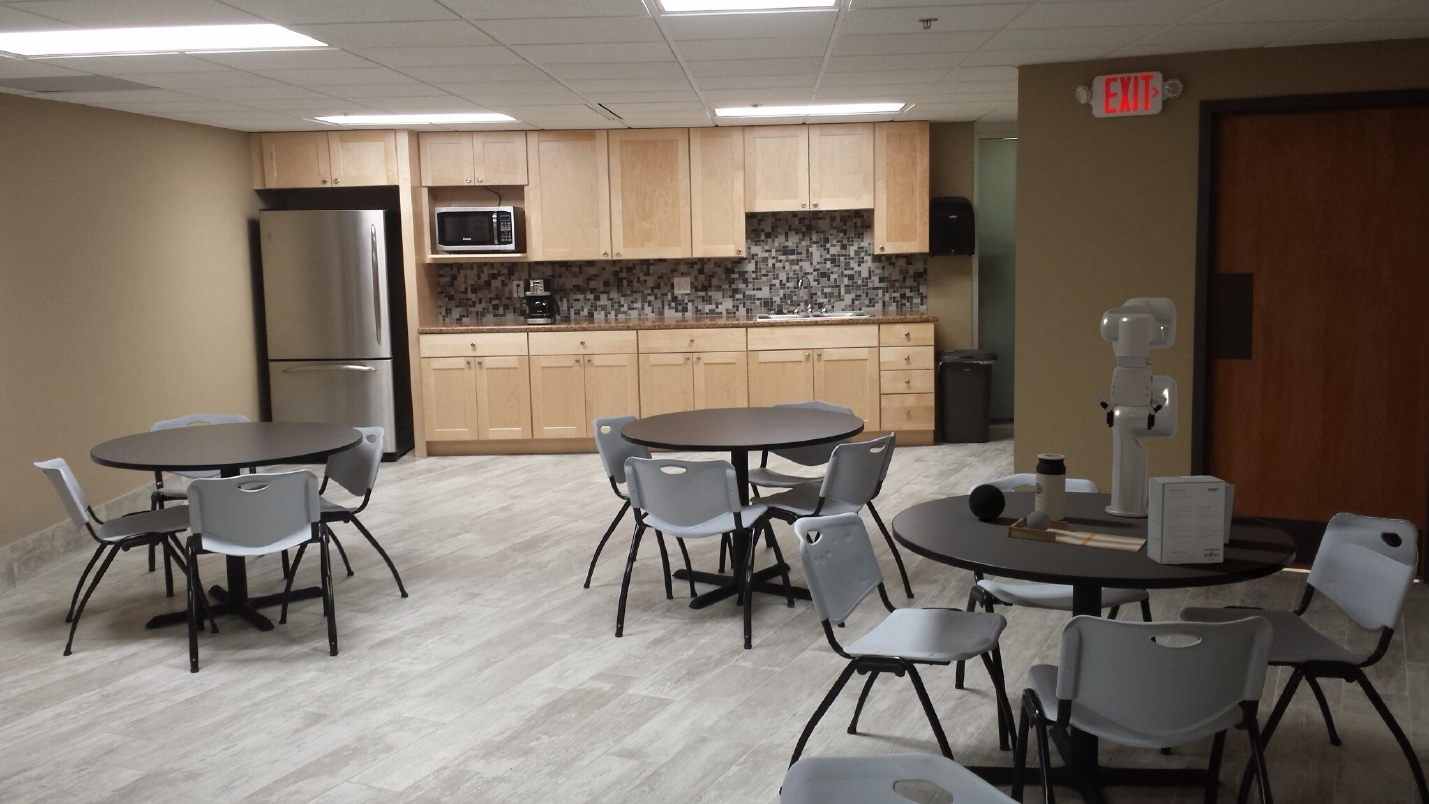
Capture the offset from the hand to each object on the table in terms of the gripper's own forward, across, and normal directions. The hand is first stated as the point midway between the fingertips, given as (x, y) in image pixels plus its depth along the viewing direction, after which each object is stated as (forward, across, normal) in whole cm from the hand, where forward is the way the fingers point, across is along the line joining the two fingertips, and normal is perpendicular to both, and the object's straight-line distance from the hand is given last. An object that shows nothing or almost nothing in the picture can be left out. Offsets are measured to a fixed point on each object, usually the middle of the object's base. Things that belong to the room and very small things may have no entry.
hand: (1130, 428), depth 282 cm
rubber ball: (+25, +20, +12) cm, 34 cm away
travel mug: (+28, +22, -8) cm, 37 cm away
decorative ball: (+28, +37, +2) cm, 47 cm away
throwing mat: (+28, +10, +12) cm, 32 cm away
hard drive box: (+29, -17, +21) cm, 39 cm away
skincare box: (+28, -20, -2) cm, 35 cm away
